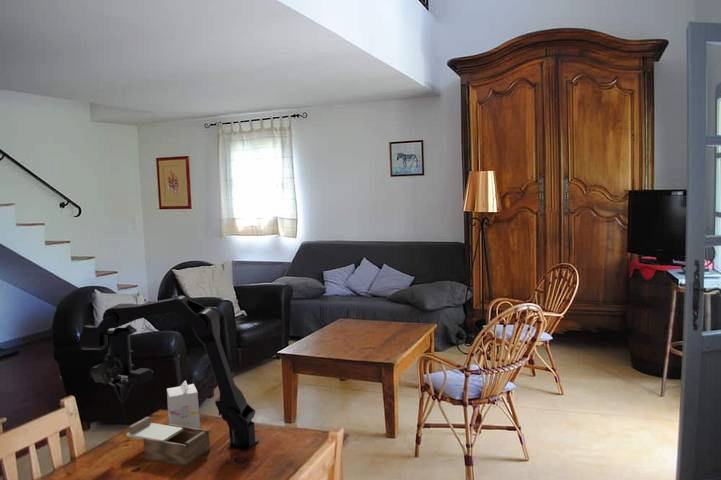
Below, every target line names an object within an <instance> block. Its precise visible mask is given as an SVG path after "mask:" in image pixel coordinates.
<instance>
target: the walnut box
mask: <svg viewBox="0 0 721 480" xmlns="http://www.w3.org/2000/svg"><path fill="white" fill-rule="evenodd" d="M167 425H168V426H174V427H180V428H183V431H181V432H180V433H178V434H177V435H175V436H173V437H172V438H170V439H169V440H167V441H162V440H156V439H150V438H143V439H142V440H143V449H144V459H145V460H148V461H154V462H157V463H163V464H168V465H174V466H178V467H185V468H188V467H189V466H191V465H192V464H193V463H194V462H196V461H198V460H199V459H201V458H202V457H203V456H204V455H205V454H207V453H208V452H210V451H211V445H210V444H211V443H210V430H209V429H205V428H193V427H186V426H180V425H174V424H169V423H167Z"/></svg>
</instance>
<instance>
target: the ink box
mask: <svg viewBox="0 0 721 480" xmlns="http://www.w3.org/2000/svg"><path fill="white" fill-rule="evenodd" d="M198 393H199V392H198V390H197V388H196V386H195V383H191V384H188V383H187V380H184V381H183V382H182V383H181V384H180V385H179V386H175V387H174V386H173V387H168V388H166V395H167V398H166V399H167V415H168V418H167V419H168V424H174V425H180V426H186V427H193V428H199V429H201V422H200V409H199V397H198Z"/></svg>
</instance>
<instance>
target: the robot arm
mask: <svg viewBox="0 0 721 480" xmlns="http://www.w3.org/2000/svg"><path fill="white" fill-rule="evenodd" d="M173 313H176V314H177V315H178V316H179V317H180V319H182V320H183V321H184V322H185V323H186V324H188V325H189V326H190V327H191V328H192V330H193V332H194V335H195V336H196V337H197V339H198V340H199V341H200V342H201V343H202V344H203V347H204V349H205V352H206V354H207V358H208V362H209V364H210V367H211V370H212V373H213V376H214V379H215V382H216V385H217V388H218V391H219V396H218V397H217V399H216V400H215V401H214V403H215V407H216V408H217V411H218V416H221V418H222V420H223V421H224V422H226V424H227V426H228V428H229V429H228V432H229V433H228V434H229V435H228V437H229V444H227V448H231V449H236V450H239V451H240V450H241V451H248V450H249V449H251V448H252V447H253V446H254V445H256V444H257V443H258V442H259V438H256V427H255V422H253V419H254V417H255V415H256V410H255V409H254V408H253V407H252V405H251V406H250V404H249V403H248V402H247V399H246V398H245V396H244V394H243V392H242V391H241V390H240V388H239V387H238V386H237V385H236V383H235V381H234V377H233V374H232V371H231V368H230V366H229V363H228V358H227V357H226V353H225V350H224V347H223V345H222V341H221V323H220V318H219V314H218V312H217V311H216V310H214V309H213V308H207V307H205V306H204V305H203V304H201V303H198V302H196V301H194V300H191V299H190V298H189V297H187V296H185V295H179V296H177V297H171V298H167V299H161V300H160V299H159V300H156V301H150V302H145V303H140V304H139V303H138V304H136V303H118V304H115V305H114V306H112V307H109V308H106V310H105V311H104V312H103V314H102V320H101V322H100V323H98V325H84V326H82V327H81V329H82V331H81V332H80V335H79V338H78V345H79V349H81V350H85V351H87V350H89V351H91V350H92V351H94V350H95V351H97V350H98V351H99V350H101V351H102V350H105V349H106V347H108V353H106V354H105V356H104V361H103V362H102V363H99V364H97V365H94V366H92V367H91V368H90V370H89V378H90V379H93V381H94V382H95V383H102V384H103V385H105V384H109V385H111V386H112V388H113V389H114V392H115V393H116V395H117V398H118V400H119V402H120V403H121V404H124V403H126V401H127V399H128V397H129V394H130V392H131V389H132V387H133V386H134V385H137V386H139V385H142V384H144V383H146V382H149V381H151V380H153V379H154V371H153V369H151V368H146V367H144V368H143V367H140V368H138V369H136V370H135V368H136V367H135V366H136V365H135V364H133V363H132V356H133V355H135V352H134V351H135V350H132V349H131V339H130V337H131V335H133V334H136V332H137V331H138V329H137V328H135V327H134V326H132V325H131V324H129V323H131V322H132V323H133V322H134V321H137V320H141V319H146V318H152V317H156V316H162V315H166V314H173ZM127 324H128V325H127ZM124 325H126V326H125V327H123V326H124ZM111 329H114V330H111ZM133 369H134V370H133Z"/></svg>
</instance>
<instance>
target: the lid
mask: <svg viewBox="0 0 721 480" xmlns="http://www.w3.org/2000/svg"><path fill="white" fill-rule="evenodd" d="M128 429H129V430H128V431H129V432H127V433H126V437H128V438H132V439H133V438H134V439H138V440H144V439H143V438H150V439H156V440H162V441H167V440H169V439H170V438H172V437H173V436H175V435H177V434H178V433H180V432H181V431H183V428H180V427H174V426H168V425H166V424H162V423H155V422H152V421H151V416H145V417H144V418H142V419H141V420H139V421H136V422H135V423H133V424H131V425H129V426H128Z"/></svg>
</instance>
